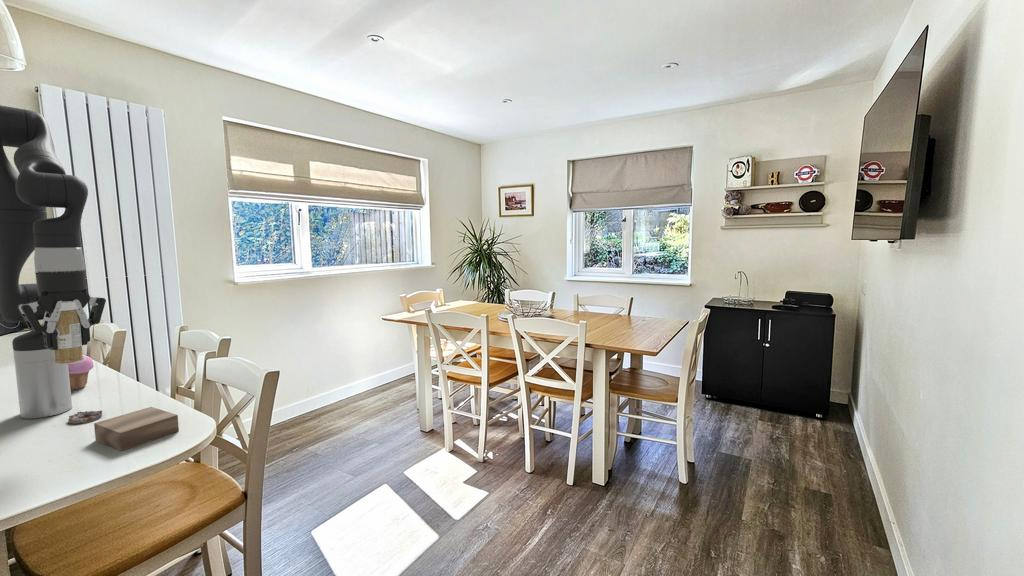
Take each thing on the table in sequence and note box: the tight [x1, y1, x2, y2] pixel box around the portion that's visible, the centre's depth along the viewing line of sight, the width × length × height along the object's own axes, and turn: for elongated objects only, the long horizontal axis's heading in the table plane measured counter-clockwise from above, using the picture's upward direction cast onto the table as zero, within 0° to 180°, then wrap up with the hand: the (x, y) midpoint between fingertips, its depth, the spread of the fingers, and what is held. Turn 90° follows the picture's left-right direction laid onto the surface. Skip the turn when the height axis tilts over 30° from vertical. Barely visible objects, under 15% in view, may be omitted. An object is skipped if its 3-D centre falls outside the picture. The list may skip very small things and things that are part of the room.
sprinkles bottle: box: [54, 301, 84, 364], centre depth 96 cm, size 5×5×13 cm
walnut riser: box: [93, 406, 180, 452], centre depth 102 cm, size 11×11×4 cm
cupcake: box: [68, 355, 95, 391], centre depth 132 cm, size 9×9×10 cm
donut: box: [68, 410, 103, 425], centre depth 110 cm, size 8×8×2 cm
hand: (68, 346), depth 97 cm, fingers closed on sprinkles bottle, 4 cm apart
